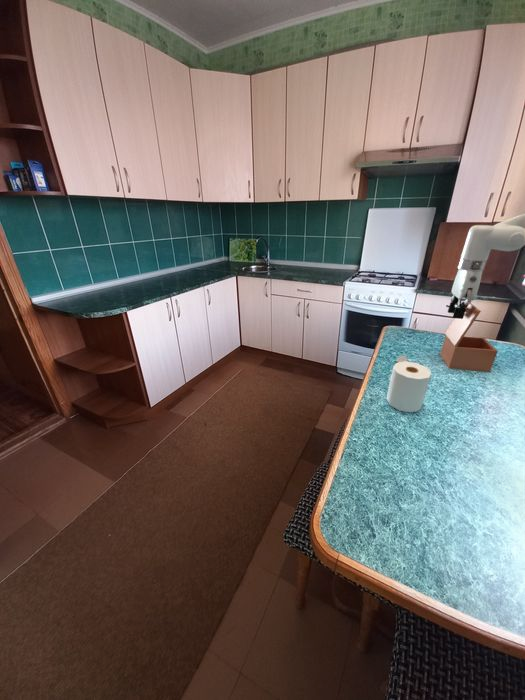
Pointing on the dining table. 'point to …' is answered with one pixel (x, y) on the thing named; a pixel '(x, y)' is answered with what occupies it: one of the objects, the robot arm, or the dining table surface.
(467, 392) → the dining table surface
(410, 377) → the toilet paper
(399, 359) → the spoon
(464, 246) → the robot arm
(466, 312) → the brown box lid
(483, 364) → the brown box body
